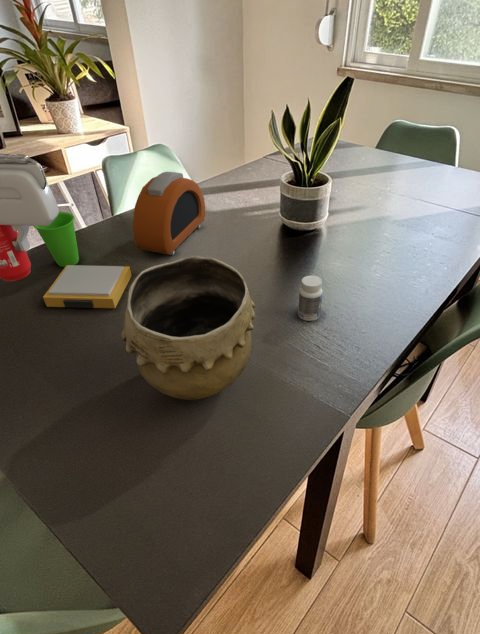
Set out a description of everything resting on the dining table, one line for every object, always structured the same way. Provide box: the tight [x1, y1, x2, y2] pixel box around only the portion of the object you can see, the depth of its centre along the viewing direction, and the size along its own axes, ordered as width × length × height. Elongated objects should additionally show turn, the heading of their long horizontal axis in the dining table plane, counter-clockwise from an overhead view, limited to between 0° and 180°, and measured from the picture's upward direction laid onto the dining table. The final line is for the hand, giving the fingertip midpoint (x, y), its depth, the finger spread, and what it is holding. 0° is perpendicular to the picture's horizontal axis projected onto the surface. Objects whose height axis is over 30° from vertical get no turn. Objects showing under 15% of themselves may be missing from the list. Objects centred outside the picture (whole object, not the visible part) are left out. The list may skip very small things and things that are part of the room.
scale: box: [42, 264, 133, 309], centre depth 95 cm, size 15×14×3 cm
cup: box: [32, 211, 80, 268], centre depth 102 cm, size 9×9×11 cm
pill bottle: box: [297, 275, 324, 322], centre depth 87 cm, size 5×5×8 cm
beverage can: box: [0, 225, 32, 282], centre depth 64 cm, size 5×5×12 cm
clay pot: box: [120, 255, 256, 401], centre depth 69 cm, size 21×21×20 cm
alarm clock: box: [132, 171, 206, 256], centre depth 109 cm, size 23×9×17 cm, turn 161°
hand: (2, 248), depth 64 cm, fingers closed on beverage can, 5 cm apart
